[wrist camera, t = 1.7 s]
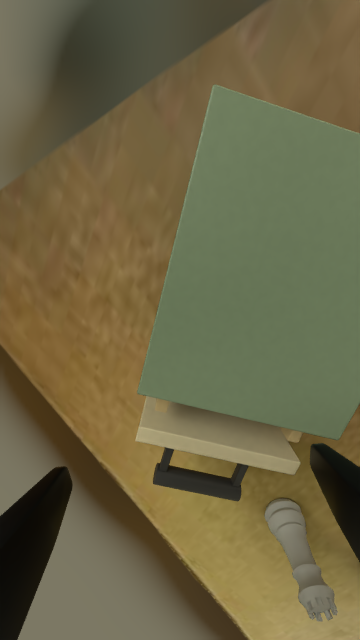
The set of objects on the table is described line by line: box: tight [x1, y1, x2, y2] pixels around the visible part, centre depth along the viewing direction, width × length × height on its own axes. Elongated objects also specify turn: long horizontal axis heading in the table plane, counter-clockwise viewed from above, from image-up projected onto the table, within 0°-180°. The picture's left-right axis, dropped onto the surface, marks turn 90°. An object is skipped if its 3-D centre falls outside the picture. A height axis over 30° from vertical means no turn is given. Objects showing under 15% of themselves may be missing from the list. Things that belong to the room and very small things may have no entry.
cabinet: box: [137, 85, 360, 440], centre depth 15 cm, size 15×13×9 cm
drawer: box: [136, 396, 303, 501], centre depth 17 cm, size 19×11×7 cm, turn 165°
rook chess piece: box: [265, 498, 338, 621], centre depth 22 cm, size 4×4×8 cm
